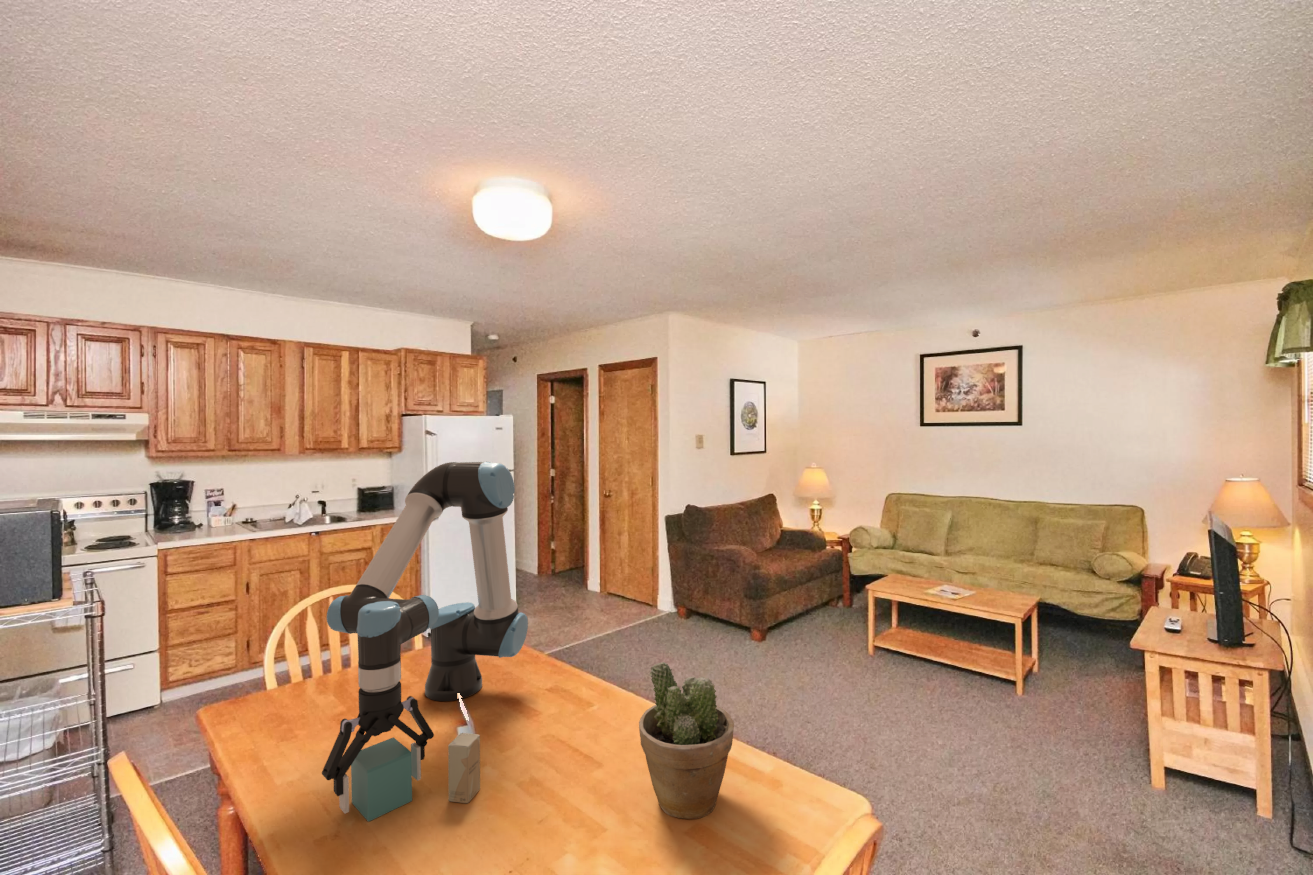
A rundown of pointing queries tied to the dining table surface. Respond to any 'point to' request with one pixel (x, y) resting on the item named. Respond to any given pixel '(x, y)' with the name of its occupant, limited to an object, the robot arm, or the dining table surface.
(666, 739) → the potted plant
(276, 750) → the dining table surface
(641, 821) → the dining table surface
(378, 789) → the teal block
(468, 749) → the box
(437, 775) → the dining table surface
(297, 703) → the dining table surface
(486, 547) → the robot arm
